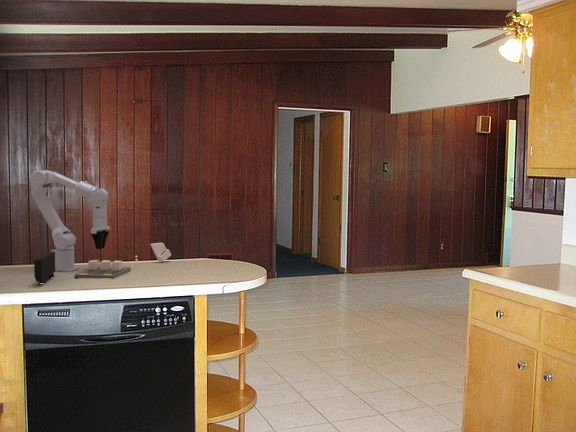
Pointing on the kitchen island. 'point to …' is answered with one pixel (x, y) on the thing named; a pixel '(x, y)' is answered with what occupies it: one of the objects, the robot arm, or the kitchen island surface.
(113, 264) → the cream squarish block
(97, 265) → the beige block
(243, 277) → the kitchen island surface
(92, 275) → the switch bank
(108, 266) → the tab
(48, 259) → the digital display
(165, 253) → the white angled block
